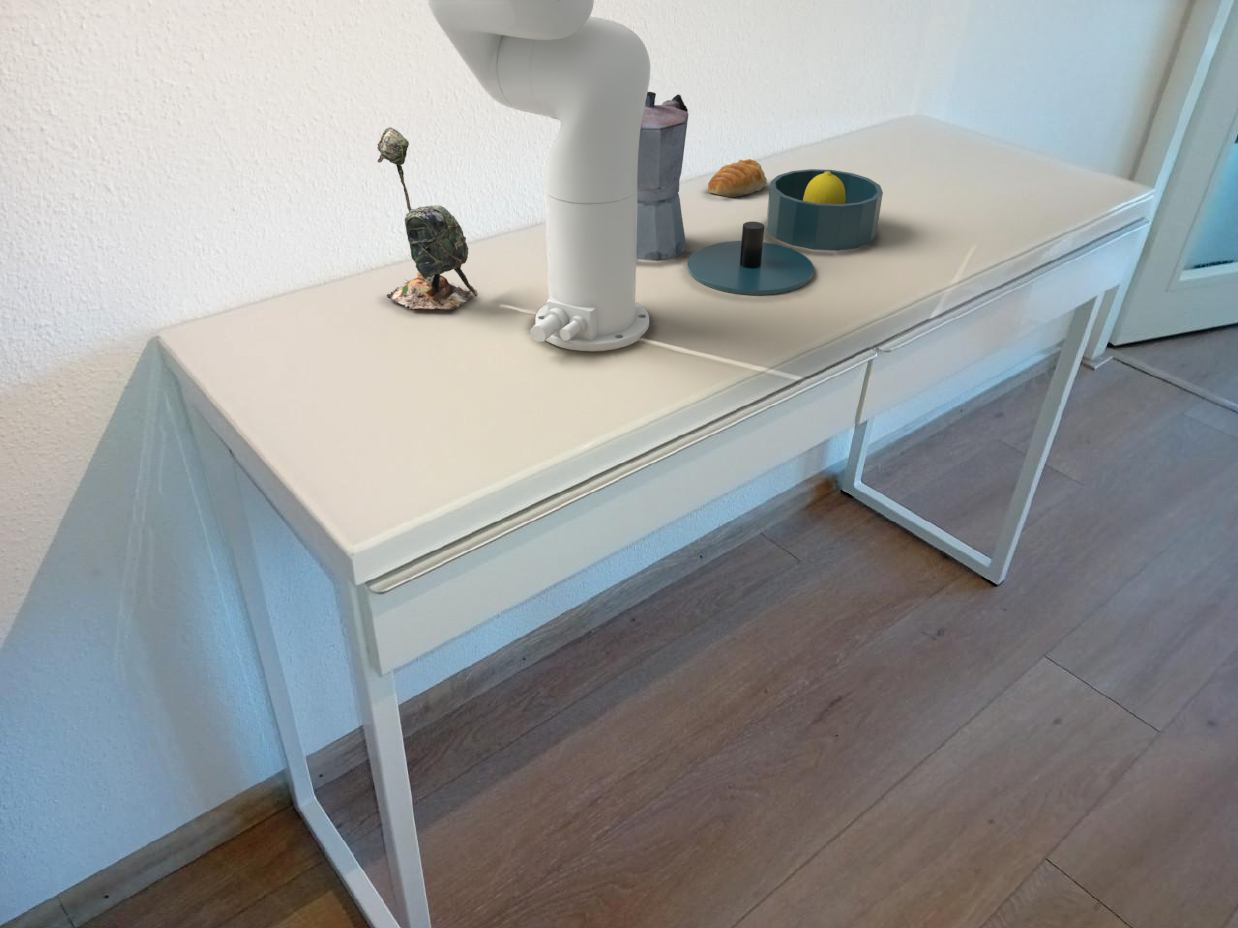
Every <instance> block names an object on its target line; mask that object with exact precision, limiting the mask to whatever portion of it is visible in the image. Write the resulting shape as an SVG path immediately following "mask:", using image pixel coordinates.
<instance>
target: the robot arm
mask: <svg viewBox="0 0 1238 928" xmlns="http://www.w3.org/2000/svg"><path fill="white" fill-rule="evenodd" d="M426 2H427V5H428V8H429V11H430V12H431V13H432V15H433V17H434V19H435V21H436V22H437V24H438V25H439V27H440V28H441V30H442V31H443V33H444V34H445V36H446V37H447V39H448V41H450V43H451V44H452V45H453V48H454V49H455V50H456V52H457V53H458V54H459V56H460V58H461V59H462V60H463V62H464V63H465V65H466V66H467V67H468V69H469V70H470V72H471V73H472V75H473V76H474V77H475V79H476V80H477V81H478V83H479V84H480V86H481V87H482V88H483V90H484V91H485V92H486V93H487V94H488V95H489V96H490V97H491V98H492V99H493V100H495V101H496V102H497V103H499V104H501V105H503V106H505V107H507V108H510V109H513V110H518V111H520V112H526V113H529V114H534V115H538V116H544V117H546V118H547V117H548V118H551V119H554V120H557V121H559V122H560V128H559V131H558V132H557V135H556V137H555V138H554V140H553V142H552V144H551V146H550V148H549V149H548V152H547V154H546V155H545V156H546V157H545V160H544V163H543V164H544V165H543V190H544V208H545V209H544V214H545V215H544V216H545V238H546V239H545V240H546V263H547V265H546V266H547V267H546V268H547V292H548V299H547V300H546V304H544V305H542V307H540V308H539V310H538V311H537V312H536V314H535V317H534V321H535V323H534V325H532V326H531V328H530V330H529V333H530V337H531V338H532V339H533V341H534V342H536V343H544V342H545V341H546V342H548V343H549V344H552V345H553V346H556V347H560V348H562V349H567V350H571V351H578V352H607V351H612V350H617V349H621V348H625V347H627V346H630V345H633V344H635V343H636V342H638V341H640V340H641V339H642V336H643V335H644V334H646V332H647V331H648V329H649V327H650V314H649V313H648V311H647V309H645V308H644V306H643V305H641V304H640V303H638V302H637V301H636V300H637V299H636V297H637V259H636V247H637V174H638V150H639V137H640V129H641V122H642V116H643V111H644V106H645V101H646V97H647V92H649V86H650V79H651V60H650V57H649V52H648V49H647V47H646V45H645V43H644V42H643V40H642V38H640V36H639V34H637V33H636V32H635V31H633V30H632V29H630V28H629V27H627V26H625V25H624V24H621V23H620V22H616V21H614V20H610V19H606V18H602V17H597V16H591V14H592V12H593V9H594V4H595V0H426Z"/></svg>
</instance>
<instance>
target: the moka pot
mask: <svg viewBox="0 0 1238 928" xmlns="http://www.w3.org/2000/svg"><path fill="white" fill-rule="evenodd" d="M656 97H657V93H656V92H654V91H648V92H647V97H646V101H645V106H644V111H643V116H642V122H641V129H640V137H639V150H638V174H637V247H636V260H644V261H657V262H659V261H663V260H670V259H675V258H678V257H679V256H680V255H683V253H684V252H685V251H686V250H687V242H686V235H685V228H684V221H683V220H684V219H683V214H682V205H681V199H680V198H681V197H680V194H679V192H680V179H681V176H682V171H683V163H684V153H685V145H686V137H687V128H688V121H689V111H688V108H687V106H686V104H685V102H684V101H683V97H682V95H681V94H676V95H675V96H674V97H672V99H667V100H665V101H663V102H662V103H661V104H655V103H656Z"/></svg>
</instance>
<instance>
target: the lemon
mask: <svg viewBox="0 0 1238 928" xmlns="http://www.w3.org/2000/svg"><path fill="white" fill-rule="evenodd" d="M803 201H807V202H813V203H819V204H845V202H846V194H845V188H844V185H843V183H842V181H841V180H840V179H839V178H838V177H837V176H835V175H833V174H831V172H829V171H826V172H825V173H824V174H820V175H818V176H816V177H814V178H813V179H812V180H811V181H810V182H809V184H808V185H807V188H806V190H805V193H804V198H803Z"/></svg>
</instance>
